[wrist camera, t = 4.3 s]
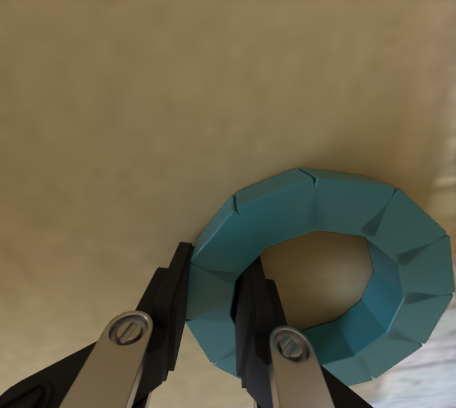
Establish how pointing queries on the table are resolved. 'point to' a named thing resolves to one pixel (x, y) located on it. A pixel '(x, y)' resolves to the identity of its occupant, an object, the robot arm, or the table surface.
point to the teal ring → (338, 223)
